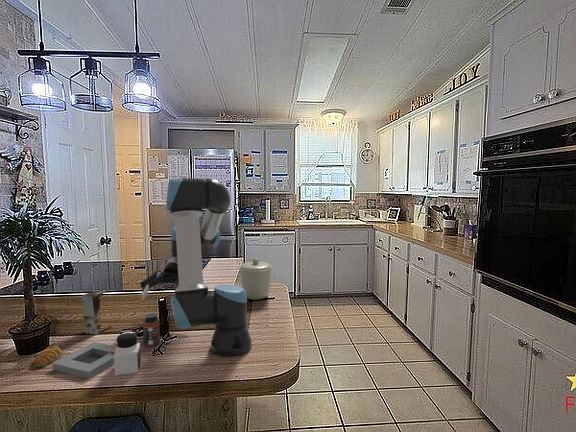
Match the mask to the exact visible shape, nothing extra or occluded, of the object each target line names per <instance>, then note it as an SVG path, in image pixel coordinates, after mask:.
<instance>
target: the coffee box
mask: <svg viewBox="0 0 576 432" xmlns="http://www.w3.org/2000/svg"><path fill="white" fill-rule="evenodd" d="M105 292H106V291H103V289H102V290H100V291H96V290H93V291H91V292H88V293H85V294H81V295H82V298H81V299H82V305H83V304H84V310H83V309H82V314H83V315H84V316H83V317H84V319H83V323H84V322H85V328H86V331H87V333H86V334H88V333H89V335H99V334H100V333H99V331H100V314H101V312H100V301H101V295H102V294H103V293H105ZM83 311H84V312H83ZM83 317H82V318H83Z"/></svg>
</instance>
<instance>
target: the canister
mask: <svg viewBox="0 0 576 432" xmlns="http://www.w3.org/2000/svg"><path fill="white" fill-rule="evenodd" d="M238 270H239V271H240V280H241V281H240V282H241V287H242V288H243V289H244V290H245V291H246V298H247V299H249V300H262V299H265V298H267V297H268V295H269V292H270V286H271V277H272V270H273V265H272V264H270V263H268V262H265V261H260V259H259V258H257V257H256V258H255V257H254V258H252V260H251V261H247V262H243V263H242V264H240V265H239V266H238Z"/></svg>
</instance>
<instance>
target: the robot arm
mask: <svg viewBox="0 0 576 432" xmlns="http://www.w3.org/2000/svg"><path fill="white" fill-rule="evenodd" d="M167 183H168V185H167V190H166V191H167V193H166V200H165V204H166V205H165V210H166V211H168V212H169V213H170V216H171V217H172V218H173V219H174V221H175V222H174V224H175V226H174V227H172V229H171V233H170V234H171V236H170V240H171V241H170V243H171V244H170V245H171V246H170V247H171V249H170V257H169V259H168V261H167V263H166V265H165V267H164V270H163V271H162V272H161V273H159V272H158V271H157V270H156V271H154V273H153V274H151V275H150V276H148V277H147V278H144V279H143V280H141V281H140V288H141V294H140V296H141V301H144V300H145V298H146V297H147V294H148V293H149V291H150V288H152V287H156V286H157V285H159V284H160V285H161V284H164V283H165V284H167V283H168V284H174V285H175V286H176V288H175V289H174V295H172V296H171V297H170V303H171V304H170V305H171V309H172V315H173V319H174V322H175V326H176V327H177V328H178V329H181V330H184V329H192V328H196V327H203V326H204V327H205V326H209V325H215V327H214V332H213V334H212V338H211V341H210V351H211V352H212V353H213V354H215V355H216V356H220V357H229V358H230V357H231V358H232V357H236V356H237V357H238V356H241V355H243V354H246V353H248V352H249V351H250V350H251V349H252V342H253V341H252V338H251V334H250V332H249V329H248V326H247V325H248V322H247V321H248V320H247V318H248V316H247V314H248V313H247V310H248V309H247V307H248V306H247V303H248V300H247V299H248V298H246V291H245V290H244V289H243V288H242V286H239V285H235V284H219V285H216V286H214V289H213V290H212V291H211V290H210V291H209V286H208V285H207V284H205V283H204V273H203V259H202V247H203V246H204V247H205V246H215V245H219V244H220V242H221V233H220V230H219V229H220V226H221V223H222V221H223V218H224V215H225V213H227V211H228V210H229V207H230V205H231V195H230V192H229V190H228V189H227V188H226V186H225V185H224V184H223V183H221V182H220V181H218V180H216V179H215V178H214V179H213V178H189V177H188V178H187V177H186V178H184V177H183V178H182V177H181V178H171V179H170V180H169V181H168V182H167ZM204 210H205V213H204ZM203 214H204V217H203V221H202V223H201V224H202V225H201V224H200V218H201V216H203ZM200 225H201V227H200Z"/></svg>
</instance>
